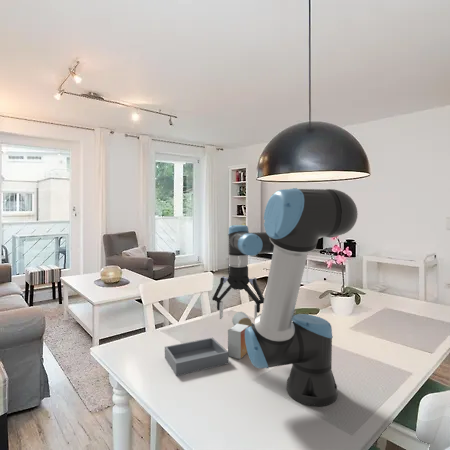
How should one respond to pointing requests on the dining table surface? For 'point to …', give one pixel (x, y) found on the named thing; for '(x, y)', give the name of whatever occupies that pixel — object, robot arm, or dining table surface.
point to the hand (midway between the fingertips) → (238, 319)
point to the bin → (195, 356)
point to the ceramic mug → (241, 319)
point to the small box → (237, 341)
